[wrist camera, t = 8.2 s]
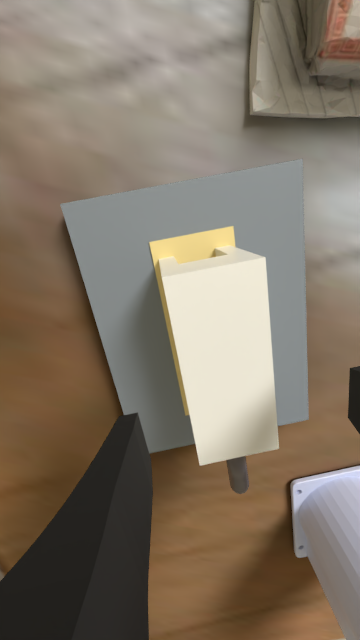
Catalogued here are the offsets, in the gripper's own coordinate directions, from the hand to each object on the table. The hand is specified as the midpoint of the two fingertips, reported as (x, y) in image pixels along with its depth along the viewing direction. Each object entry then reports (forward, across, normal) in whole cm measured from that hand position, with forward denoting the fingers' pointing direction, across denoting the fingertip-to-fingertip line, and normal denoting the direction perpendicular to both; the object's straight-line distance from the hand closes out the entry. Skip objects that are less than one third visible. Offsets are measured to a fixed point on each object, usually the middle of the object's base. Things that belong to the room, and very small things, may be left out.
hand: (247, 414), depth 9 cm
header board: (+9, 0, 0) cm, 9 cm away
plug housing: (+7, 0, +2) cm, 8 cm away
